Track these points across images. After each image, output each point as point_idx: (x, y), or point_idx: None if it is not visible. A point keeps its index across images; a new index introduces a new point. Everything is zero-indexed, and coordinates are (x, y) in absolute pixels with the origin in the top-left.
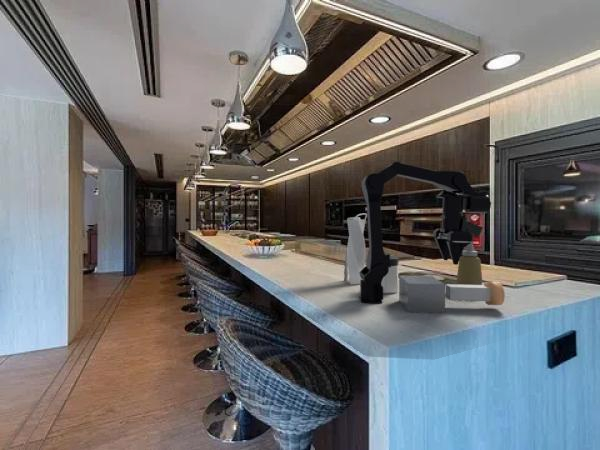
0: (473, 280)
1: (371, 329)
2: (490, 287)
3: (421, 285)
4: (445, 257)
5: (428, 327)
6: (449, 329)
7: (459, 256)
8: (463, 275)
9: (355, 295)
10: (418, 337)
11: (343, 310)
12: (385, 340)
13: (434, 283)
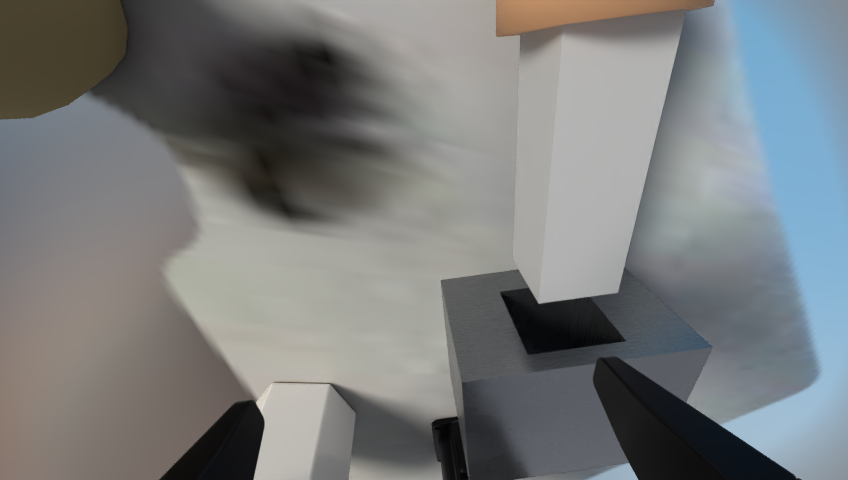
0: None
1: (714, 412)
2: (683, 9)
3: None
4: (247, 449)
5: (737, 315)
6: (772, 268)
7: (734, 447)
8: (4, 79)
9: (411, 465)
10: (795, 339)
11: None
12: (785, 389)
13: (677, 385)
